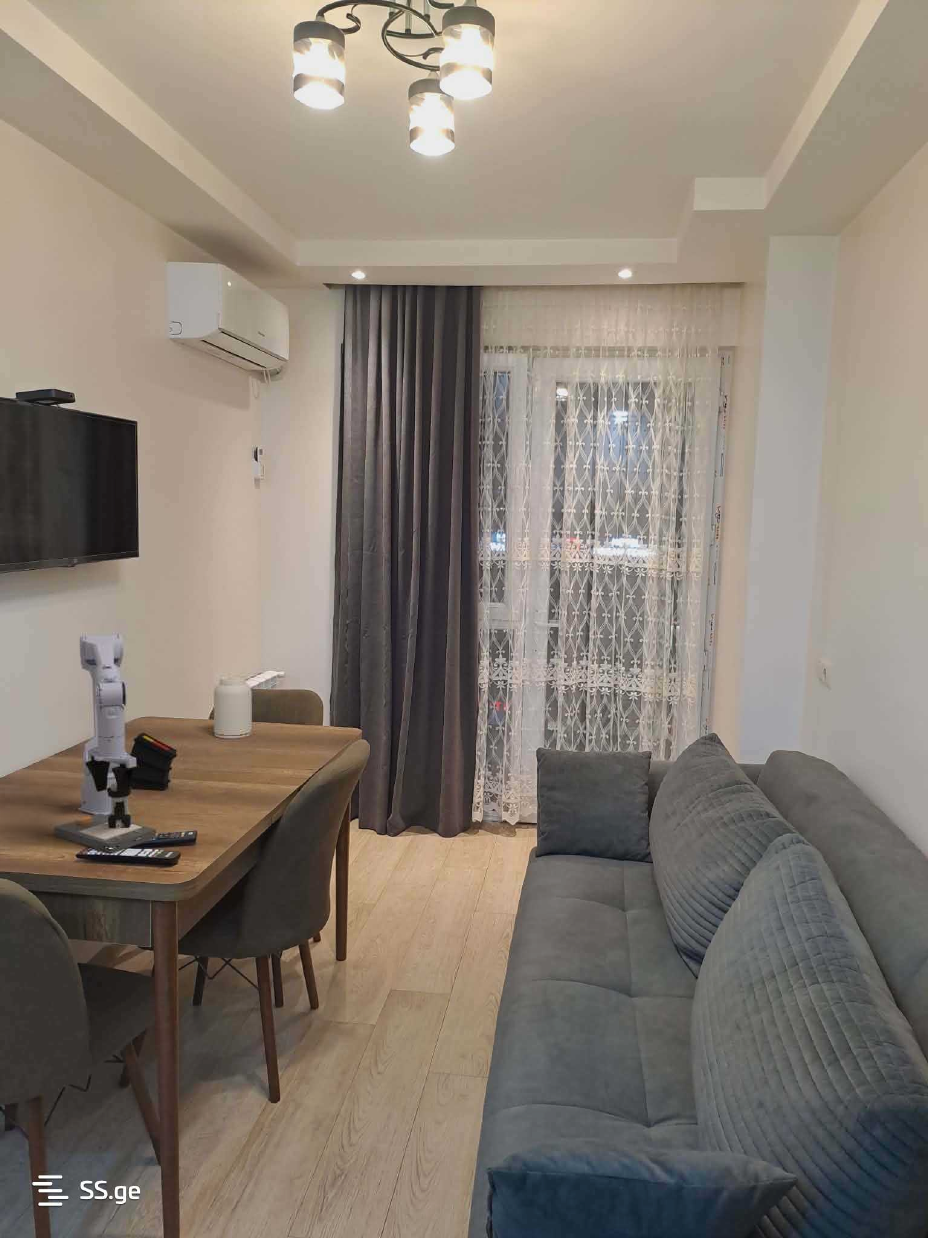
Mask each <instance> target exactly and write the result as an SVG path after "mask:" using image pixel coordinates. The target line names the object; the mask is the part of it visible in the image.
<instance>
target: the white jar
mask: <svg viewBox="0 0 928 1238" xmlns="http://www.w3.org/2000/svg"><path fill="white" fill-rule="evenodd" d="M251 688H252V687H251V686H250V685H249V684H248V683H247V680H246V678H245V677H244V676H237V675H236V676H235V675H233V676H231V675H229V676H223V677H221V678H220V679H219V684H217V685H216V686H215V688H214V692H213V733H214V732H215V733H217V734H224V735H240V734H245V733H249V732H250V731H251V730H252V731H253V728H252V725H253V724H252V723H253V722H252V721H253V720H252V718H253V714H252V713H253V709H252V708H253V707H252V706H253V702H252V699H253V698H252V697H253V693H252V689H251ZM251 735H252V732H251V733H250V734H247V735H242V736H219V735H216V734H214V736H215V737H217V738H220V739H226V740H227V739H228V740H229V739H230V740H231V739H232V740H233V739H234V740H235V739H242V738H247V737H249V736H251Z"/></svg>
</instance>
